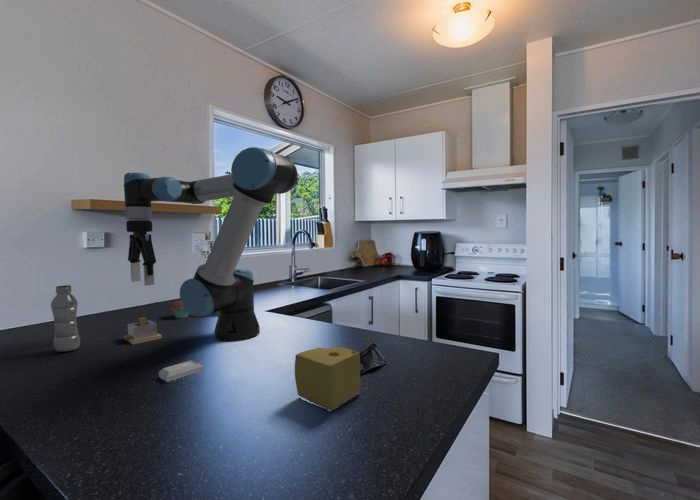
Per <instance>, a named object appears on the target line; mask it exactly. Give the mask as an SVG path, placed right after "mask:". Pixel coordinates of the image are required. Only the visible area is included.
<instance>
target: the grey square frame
mask: <svg viewBox="0 0 700 500" xmlns="http://www.w3.org/2000/svg"><path fill="white" fill-rule="evenodd" d="M157 333H158V324H157V323H156V322H155V321H152V320H151V319H149V320H147V325H142V326H138V321H137V322H132V323H127V335H128V336H129V337H131V338H132V339H133V340H137V339H142V338H147V337H152V336H157Z"/></svg>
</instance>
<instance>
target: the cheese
mask: <svg viewBox="0 0 700 500" xmlns="http://www.w3.org/2000/svg"><path fill="white" fill-rule="evenodd" d="M294 358H295V359H294V379H295V386H296V389H297V390H296V392H297V396H298V395H299V396H301V397H303V398H305V399H307V400H309V401H310V402H313V403H315V404H317V405H319V406H322V407H324V408H326V409H329V410H333V409H335V408H336V407H338V406H340V405H341V404H343V403H344V402H346V401H347V400H349V399H351V398H352V397H354V396H356V395H358V394H360V393H361V375H360V353H359V351H355V350H352V349H349V348H346V347H341V346H334V347H331V348H323V347H316V348H312V349H309V350H305V351H301V352H299V353H297V354H295V357H294Z"/></svg>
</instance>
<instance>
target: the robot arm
mask: <svg viewBox="0 0 700 500" xmlns="http://www.w3.org/2000/svg"><path fill="white" fill-rule="evenodd" d="M230 169H231V172H230V173H229V174H225V175H220V176H212V177H208V178H203V179H197V180H192V181H186V180H179V179H176V178H175V177H173V176H161V177H153V178H151V176H150V175H149V174H147V173H145V172H127V173H125V174H124V176H123V190H124V191H123V192H124V193H123V194H124V205H125V206H124V207H125V209H124V210H123V212H124V214H125V218H126V222H125V224H126V225H125V226H126V228H125V229H126V232H127V233H132V234H129V236H128V237H129V244H128V245H129V246H128V256H127V261H128V262H129V263H130V264H129V265H130V280H131V282H132V283H134V282H135V283H136V282H141V263H142V266H143V276H144V277H143V281H144V286H152V285H153V286H154V285H155V270H154V269H155V268H154V267H155V266H154V265H155V264H156V263H157V260H156V255H155V251H154V246H153V241H152V235H151V234H148V233H149V232H153V221H152V219H153V213H152V212H153V211H152V208H153V207H152V202H168V203H170V202H171V203H180V204H181V203H183V204H191V205H202V204H204V203H205V202H208V201H213V200H214V201H215V200H219V199H220V200H221V199H227V198H232V200H231V202H230V204H229V208H228V209H227V211H226V214H225V216H224V219H223V221H222V223H221V226H220V228H219V231H218V233H217V235H216V238H215V240H214V242H213V245H212V248H211V250H210V251H209V254H208V256H207V259H206V261H205V263H203V264H201V265H199V266H198V267H197V268H196V271H195V273H194V275H193V277H192V278H188V279H186V280H185V281H183V282H182V283H181V286H180V288H179V299H180V300H181V302H182V305H183V307H184V308H185V310H186V311H187V312H188V313H189V315H191V316H194V317H204V316H210V315H212V314H215V313H218V311H219V315H218V316H217V320H216V323H215V327H214V330H213V333H214V337H213V338H215V339H216V340H218V341H219V340H220V341H226V342H227V341H228V342H229V341H234V340H235V341H242V340H241V339H243V340H247V339H246V338H248V339H251V338H250V337H252V338H254V337H253V336H255V337H256V335H257V334H258V335H259V334H260V331H261V329H260V328H261V327H260V324H259V321H258V318H257V315H256V312H255V302H254V301H255V299H254V297H255V296H254V294H255V293H254V292H255V291H254V282H255V279H254V274H253V272H252V270H250V269H238V268H237V266H238V263H239V261H240V259H241V257H242V254H243V252H244V250H245V247H246V246H247V244H248V241H249V239H250V236H251V234H252V232H253V230H254V228H255V226H256V223H257V221H258V219H259V216H260V215H261V212H262V210H263V208H264V207H266V206H268V205H270V204H272V201H273V199H274V197H275V195H277V194H280V195H281V194H285V193H289V192H290V191H291V190H293V188H294V187H295V186H296V184H297V182H298V177H299V175H298V169H297V166H296V165H295V163H294V162H293V161H292V160H291V159H290V158H289V157H286V156H285V155H281V154H278V153H276V152H273V151H271V150H268V149H265V148H262V147H261V148H260V147H254V146H253V147H247V148H245V149H242V150H241V151H240V152H239V153H238V154H236V156H235V157H234V158H233V161H232V163H231V168H230ZM140 256H142V261H143V262H141V258H140ZM236 268H237V269H236ZM258 335H257V336H258Z"/></svg>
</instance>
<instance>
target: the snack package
mask: <svg viewBox="0 0 700 500" xmlns="http://www.w3.org/2000/svg"><path fill="white" fill-rule="evenodd" d="M358 352H359V353H360V364H362V365H363V366H362V368H364V369H361V370H360V374H362V373H363V374H364V373H365V371H366V372H368V371H370V370H372V369H373V368H377V367H379V364H376V362H377V361H381V362H383V361H384V360H385V361H387V363H388V358H386V357H385V355H384V354H383V352H381V350H380V349H379V347H378V346H377V344H376V343H371V344H370V345H369V346H368V347H367V348H366V349H365V347H364V348H363V350H360V351H358ZM374 364H375V365H374ZM363 374H362V375H363Z"/></svg>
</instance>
